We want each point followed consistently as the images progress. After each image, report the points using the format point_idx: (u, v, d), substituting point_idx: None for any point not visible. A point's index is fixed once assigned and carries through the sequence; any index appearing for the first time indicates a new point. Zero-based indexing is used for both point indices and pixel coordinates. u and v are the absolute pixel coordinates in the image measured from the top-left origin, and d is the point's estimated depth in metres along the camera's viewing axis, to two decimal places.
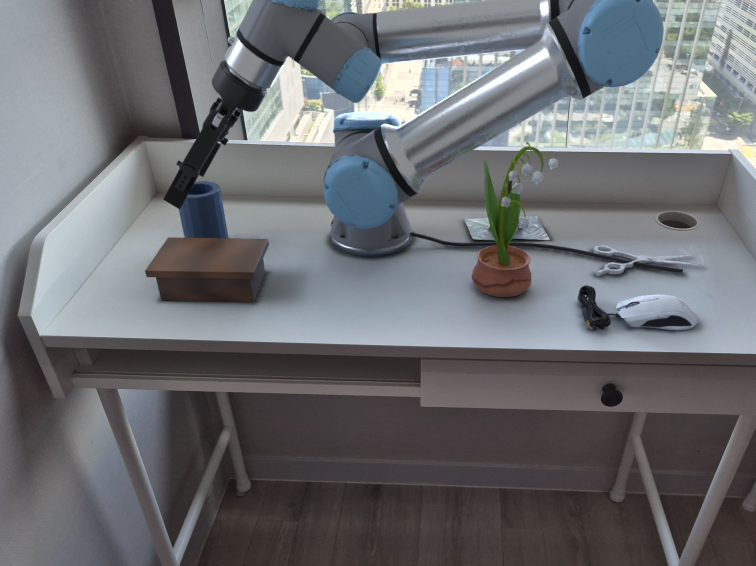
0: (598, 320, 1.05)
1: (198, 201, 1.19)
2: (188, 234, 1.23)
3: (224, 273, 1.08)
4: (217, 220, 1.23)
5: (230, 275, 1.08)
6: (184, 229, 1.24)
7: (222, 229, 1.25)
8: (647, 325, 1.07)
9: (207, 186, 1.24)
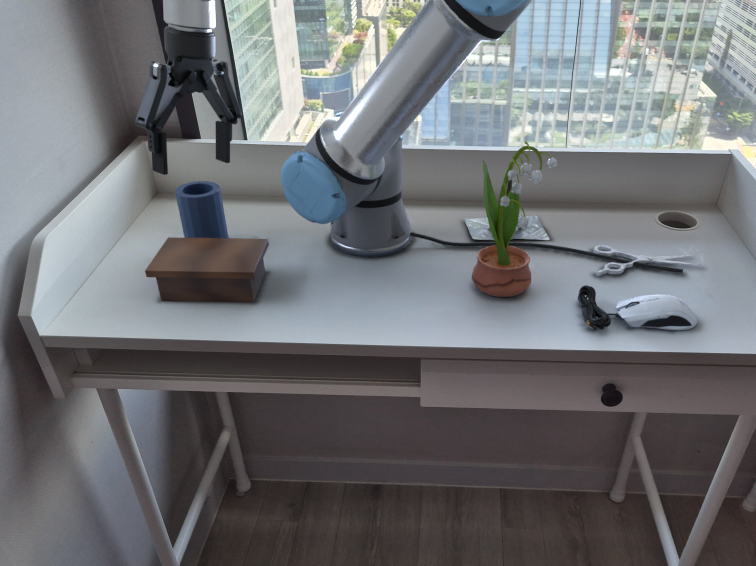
0: (598, 320, 1.05)
1: (198, 201, 1.19)
2: (188, 234, 1.23)
3: (224, 273, 1.08)
4: (217, 220, 1.23)
5: (230, 275, 1.08)
6: (184, 229, 1.24)
7: (222, 229, 1.25)
8: (647, 325, 1.07)
9: (207, 186, 1.24)
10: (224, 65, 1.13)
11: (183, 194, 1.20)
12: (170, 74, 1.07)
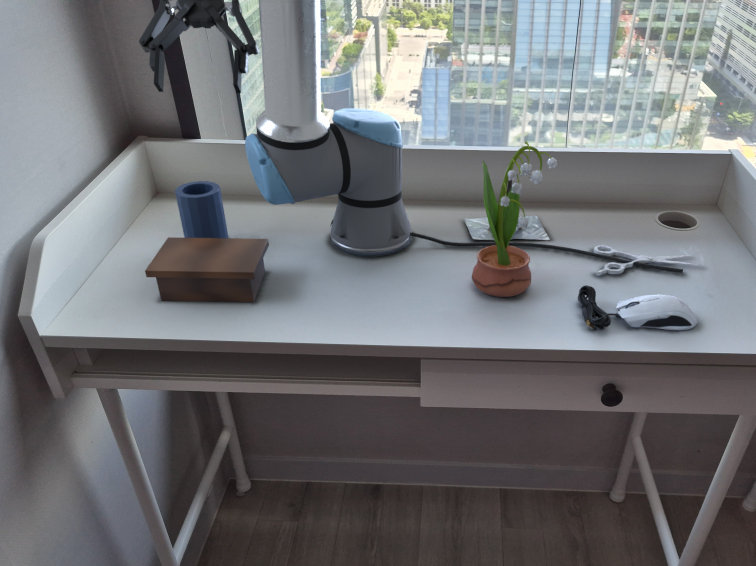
0: (598, 320, 1.05)
1: (198, 201, 1.19)
2: (188, 234, 1.23)
3: (224, 273, 1.08)
4: (217, 220, 1.23)
5: (230, 275, 1.08)
6: (184, 229, 1.24)
7: (222, 229, 1.25)
8: (647, 325, 1.07)
9: (207, 186, 1.24)
10: (233, 0, 1.22)
11: (183, 194, 1.20)
12: None
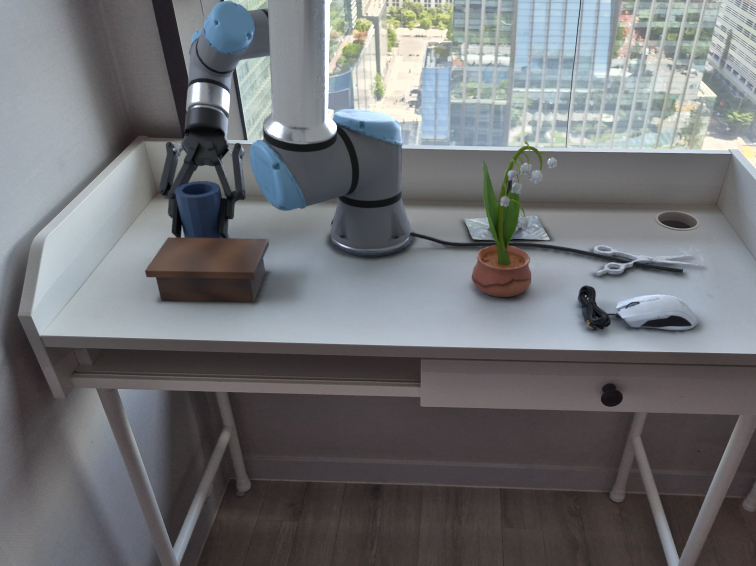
0: (598, 320, 1.05)
1: (198, 201, 1.19)
2: (188, 234, 1.23)
3: (224, 273, 1.08)
4: (217, 220, 1.23)
5: (230, 275, 1.08)
6: (184, 229, 1.24)
7: None
8: (647, 325, 1.07)
9: (207, 186, 1.24)
10: (236, 144, 1.25)
11: (183, 194, 1.20)
12: None
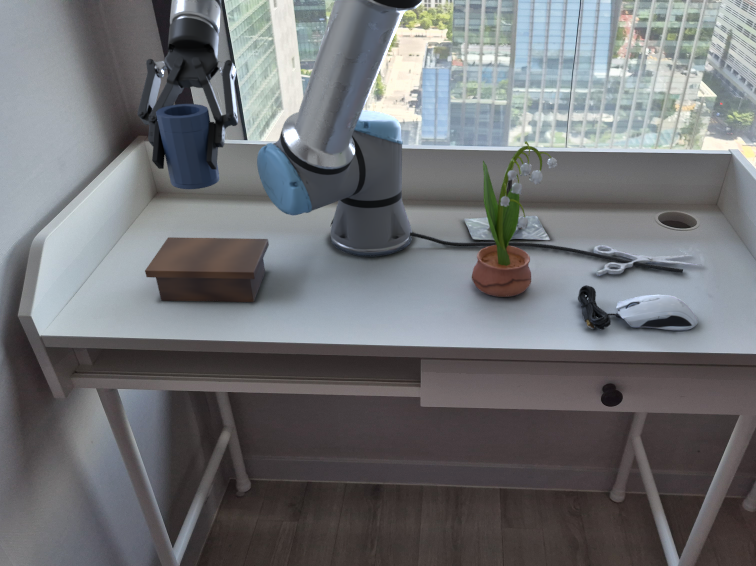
0: (598, 320, 1.05)
1: (182, 123, 1.03)
2: (171, 164, 1.07)
3: (224, 273, 1.08)
4: (205, 147, 1.07)
5: (230, 275, 1.08)
6: (167, 158, 1.07)
7: None
8: (647, 325, 1.07)
9: (193, 109, 1.08)
10: (227, 62, 1.08)
11: (165, 115, 1.04)
12: None
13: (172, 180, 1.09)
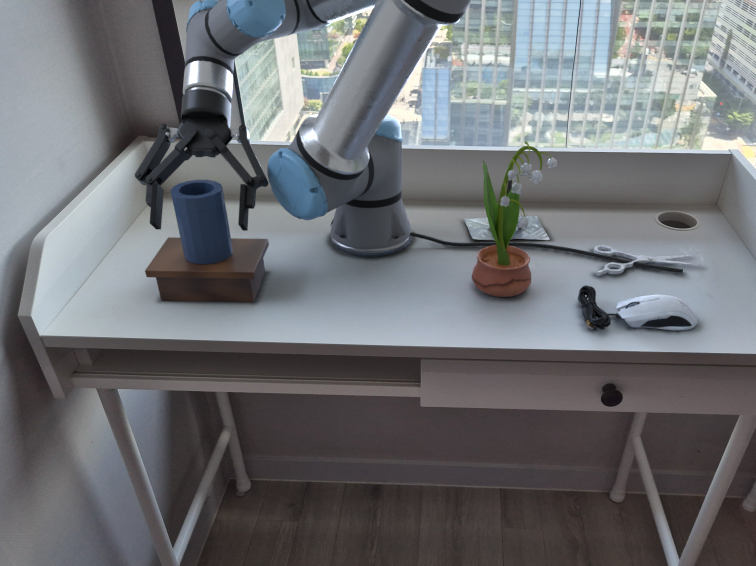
0: (598, 320, 1.05)
1: (197, 202, 1.04)
2: (186, 240, 1.08)
3: (224, 273, 1.08)
4: (219, 224, 1.07)
5: (230, 275, 1.08)
6: (181, 234, 1.08)
7: (225, 234, 1.09)
8: (647, 325, 1.07)
9: (207, 185, 1.08)
10: (240, 127, 1.08)
11: (180, 194, 1.04)
12: None
13: (186, 255, 1.10)
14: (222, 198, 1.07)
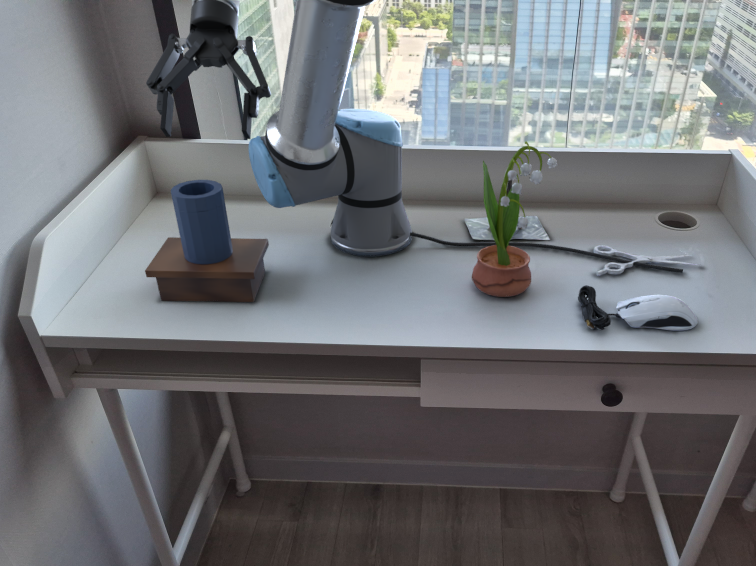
0: (598, 320, 1.05)
1: (197, 202, 1.04)
2: (186, 240, 1.08)
3: (224, 273, 1.08)
4: (219, 224, 1.07)
5: (230, 275, 1.08)
6: (181, 234, 1.08)
7: (225, 234, 1.09)
8: (647, 325, 1.07)
9: (207, 185, 1.08)
10: (247, 38, 1.12)
11: (180, 194, 1.04)
12: None
13: (186, 255, 1.10)
14: (222, 198, 1.07)
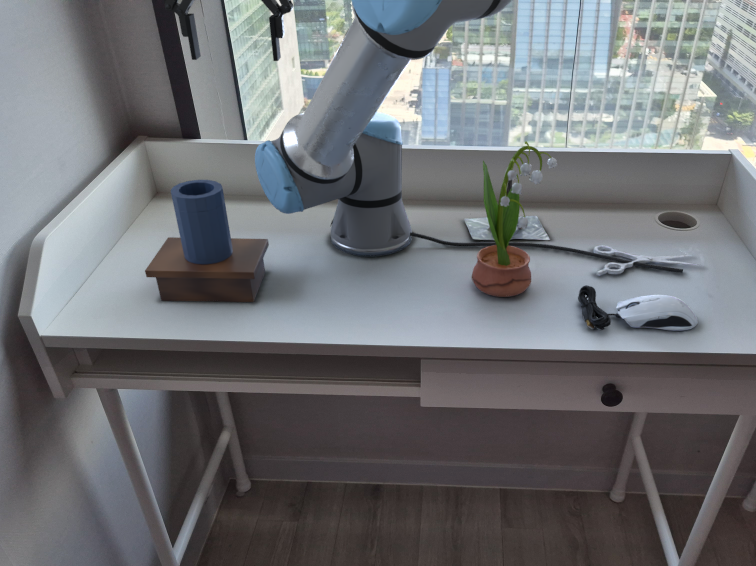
0: (598, 320, 1.05)
1: (197, 202, 1.04)
2: (186, 240, 1.08)
3: (224, 273, 1.08)
4: (219, 224, 1.07)
5: (230, 275, 1.08)
6: (181, 234, 1.08)
7: (225, 234, 1.09)
8: (647, 325, 1.07)
9: (207, 185, 1.08)
10: None
11: (180, 194, 1.04)
12: None
13: (186, 255, 1.10)
14: (222, 198, 1.07)
